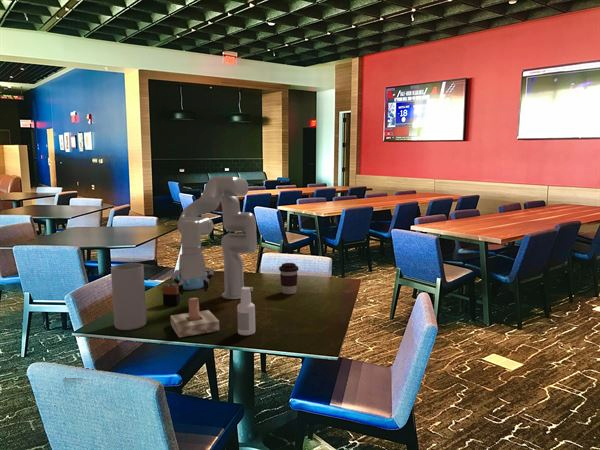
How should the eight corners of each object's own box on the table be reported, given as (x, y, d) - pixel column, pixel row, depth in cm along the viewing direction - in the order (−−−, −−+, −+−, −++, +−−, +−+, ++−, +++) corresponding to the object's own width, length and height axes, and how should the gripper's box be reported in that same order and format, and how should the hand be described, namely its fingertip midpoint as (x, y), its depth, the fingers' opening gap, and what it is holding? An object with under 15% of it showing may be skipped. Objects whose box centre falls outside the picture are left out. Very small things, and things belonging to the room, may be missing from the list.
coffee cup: (299, 290, 249) (299, 262, 247) (297, 295, 239) (297, 266, 237) (280, 289, 250) (280, 261, 248) (278, 295, 240) (277, 265, 238)
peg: (198, 325, 196) (197, 297, 195) (200, 328, 193) (199, 299, 191) (188, 327, 194) (187, 298, 193) (190, 330, 191) (189, 301, 189)
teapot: (170, 287, 258) (169, 267, 256) (198, 281, 269) (197, 262, 268) (183, 292, 246) (183, 271, 245) (212, 287, 258) (212, 266, 256)
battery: (176, 306, 223) (175, 285, 222) (163, 305, 224) (162, 285, 223) (180, 303, 227) (179, 283, 226) (167, 303, 228) (166, 282, 227)
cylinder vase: (135, 318, 206) (132, 262, 202) (152, 324, 198) (149, 265, 195) (108, 326, 196) (104, 267, 193) (125, 333, 188) (121, 271, 185)
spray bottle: (238, 329, 191) (237, 286, 188) (255, 329, 191) (254, 285, 189) (237, 336, 184) (236, 290, 181) (255, 335, 184) (254, 290, 182)
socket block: (208, 319, 204) (208, 310, 204) (219, 330, 190) (219, 321, 189) (170, 324, 197) (170, 315, 197) (178, 337, 183) (178, 327, 182)
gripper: (210, 247, 197) (212, 287, 199) (167, 251, 189) (170, 292, 192) (215, 250, 190) (217, 291, 192) (171, 254, 182) (173, 297, 185)
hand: (193, 292), depth 192 cm, fingers open, 9 cm apart
